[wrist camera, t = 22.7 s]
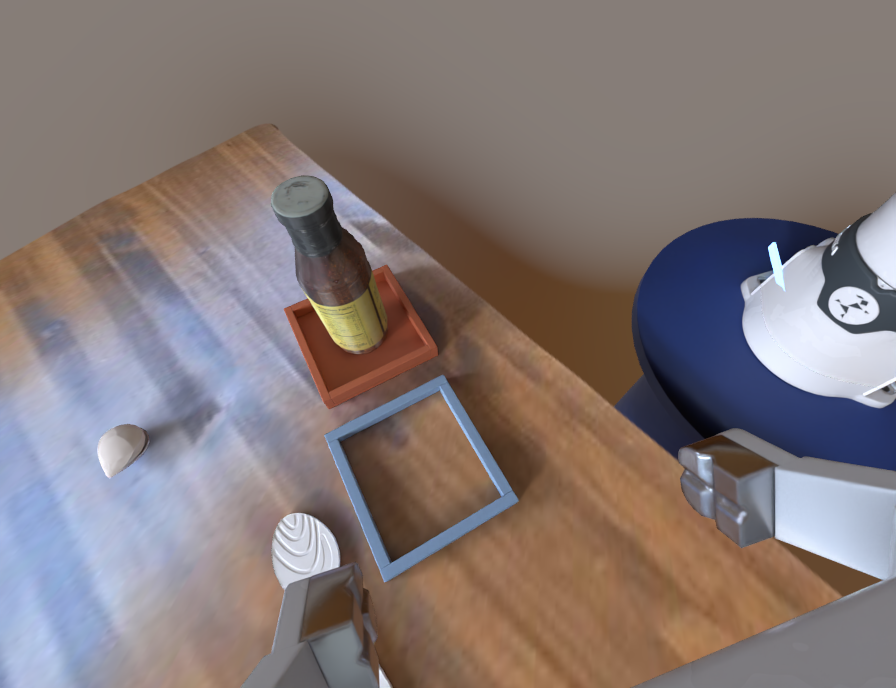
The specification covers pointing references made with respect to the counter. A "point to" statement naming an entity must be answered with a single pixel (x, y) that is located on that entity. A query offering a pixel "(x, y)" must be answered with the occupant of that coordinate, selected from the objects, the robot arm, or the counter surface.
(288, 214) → the sauce bottle
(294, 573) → the spoon
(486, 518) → the blue frame
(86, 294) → the counter surface
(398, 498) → the counter surface
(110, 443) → the clam shell
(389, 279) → the terracotta tray
